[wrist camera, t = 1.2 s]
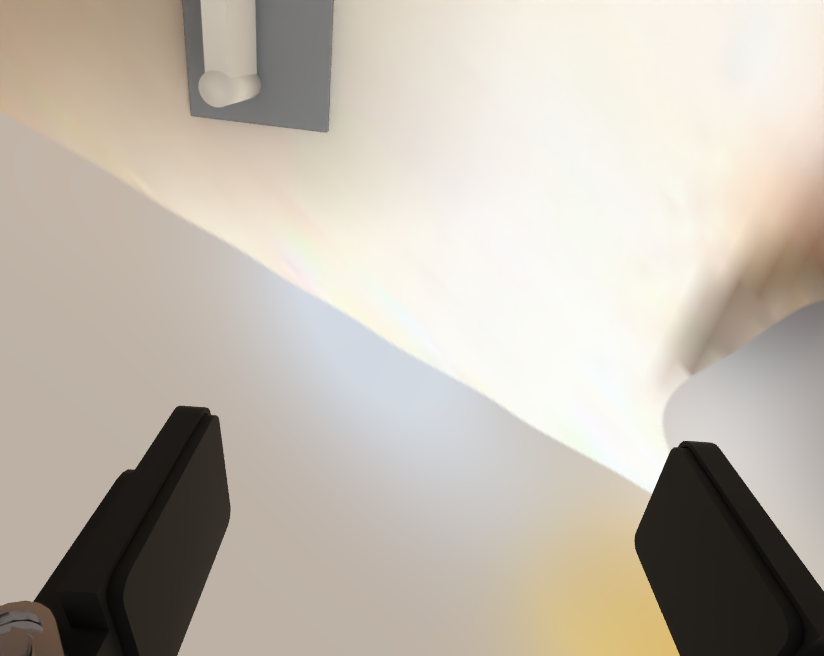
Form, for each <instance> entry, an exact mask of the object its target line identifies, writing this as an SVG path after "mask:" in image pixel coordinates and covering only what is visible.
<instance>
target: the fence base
mask: <svg viewBox="0 0 824 656" xmlns="http://www.w3.org/2000/svg"><path fill="white" fill-rule="evenodd" d="M182 4H183V17H184V30H185V43H186V57H187V70H188V83H189V96H190V110H191V116H195V117H204V118H212V119H220V120H228V121H236V122H244V123H253V124H261V125H269V126H277V127H285V128H293V129H302V130H310V131H318V132H326V133H327V132H328V131H329V106H330V80H331V55H332V30H333V4H334V0H255V6H256V56H257V75H258V76H259V78H260V81H261V90H260V92H259V94H258V95H257V96H256V97H254V98H251V99H248V100H245V101H241V102H238V103H234V104H231V105H227V106H224V107H219V108H218V107H213V106H211V105H209V104H207V103H206V102H205V101H204V100H203V98H202V97H201V95H200V92H199V88H198V84H199V80H200V78H201V76H202V75H203V74H204V73H205V66H204V50H203V33H202V17H201V1H200V0H182Z"/></svg>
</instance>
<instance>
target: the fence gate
mask: <svg viewBox="0 0 824 656" xmlns="http://www.w3.org/2000/svg"><path fill="white" fill-rule="evenodd" d="M200 1H201V17H202V33H203V50H204V66H205V73H204V74H203V75H202V76H201V78H200V80H199V84H198V88H199V92H200V95H201V97H202V98H203V100H204V101H205V102H206V103H207V104H209V105H211V106H213V107H218V108H219V107H224V106H227V105H231V104H234V103H238V102H241V101H245V100H248V99H251V98H254V97H256V96H257V95H258V94H259V92H260V90H261V81H260V78H259V76H258V75H257V56H256V6H255V0H200Z"/></svg>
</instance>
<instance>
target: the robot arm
mask: <svg viewBox="0 0 824 656" xmlns="http://www.w3.org/2000/svg"><path fill="white" fill-rule="evenodd" d="M229 519H230V500H229V493H228V485H227V477H226V470H225V461H224V454H223V446H222V438H221V431H220V423H219V418H218V416H216V415H211V413H210V410H209V409H208V408H205V407H191V406H178V407H176V408H175V410H174V411H173V413H172V414H171V416H170V417H169V419H168V420H167V422H166V423H165V425H164V426H163V428H162V429H161V431H160V432H159V434H158V435H157V437H156V439H155V440H154V442H153V443H152V445H151V446H150V448H149V449H148V451H147V452H146V454H145V455H144V457H143V458H142V460H141V461H140V463H139V464H138V466H137V467H136V469H135V470H126V471H125V472H123V473H122V474H121V475H120V476H119V477H118V479H117V480H116V481H115V483H114V484H113V486H112V487H111V489H110V490H109V492H108V493H107V495H106V496H105V498H104V499H103V500H102V502H101V503H100V505H99V506H98V508H97V509H96V511H95V512H94V514H93V515H92V516H91V518H90V519H89V521H88V522H87V524H86V525H85V527H84V528H83V530H82V531H81V533H80V534H79V536H78V537H77V538H76V540H75V541H74V543H73V544H72V546H71V547H70V549H69V550H68V552H67V553H66V555H65V556H64V558H63V559H62V560H61V562H60V563H59V565H58V566H57V568H56V569H55V571H54V572H53V574H52V575H51V577H50V578H49V580H48V581H47V582H46V584H45V585H44V587H43V588H42V590H41V591H40V593H39V594H38V596H37V597H36V599H35V600H34V602H30V601H20V602H13V603H7V604H5V605H2V606H0V656H177V655H178V652H179V649H180V647H181V644H182V642H183V639H184V637H185V634H186V631H187V629H188V626H189V624H190V621H191V619H192V616H193V613H194V611H195V608H196V606H197V603H198V601H199V598H200V596H201V593H202V591H203V588H204V585H205V583H206V580H207V578H208V575H209V573H210V570H211V568H212V565H213V562H214V560H215V557H216V555H217V552H218V550H219V547H220V545H221V542H222V539H223V537H224V534H225V532H226V529H227V526H228V523H229ZM635 549H636V552H637V555H638V557H639V559H640V562H641V564H642V566H643V569H644V571H645V573H646V576H647V578H648V581H649V583H650V585H651V588H652V590H653V593H654V595H655V597H656V600H657V602H658V605H659V607H660V609H661V612H662V614H663V616H664V619H665V621H666V623H667V626H668V628H669V630H670V633H671V635H672V638H673V640H674V642H675V645H676V647H677V650H678V652H679V654H680V656H824V591H823V590H822V589H821V587H820V586H819V584H818V583H817V582H816V580H815V579H814V578H813V576H812V575H811V573H810V572H809V571H808V570H807V568H806V567H805V565H804V564H803V563H802V561H801V560H800V558H799V557H798V556H797V554H796V553H795V552H794V550H793V549H792V547H791V546H790V545H789V543H788V542H787V540H786V539H785V538H784V536H783V535H782V534H781V532H780V531H779V530H778V528H777V527H776V526H775V524H774V523H773V521H772V520H771V519H770V517H769V516H768V514H767V513H766V512H765V510H764V509H763V508H762V506H761V505H760V503H759V502H758V501H757V499H756V498H755V497H754V495H753V494H752V493H751V491H750V490H749V488H748V487H747V486H746V484H745V483H744V482H743V480H742V479H741V477H740V476H739V475H738V473H737V472H736V470H735V469H734V468H733V467H732V465H731V464H730V462H729V461H728V459H727V458H726V457H725V455H724V454H723V453H722V451H721V450H720V449H719V447H718V446H717V445H715V444H713V443H708V442H694V441H683V442H682V443H680V445H679V446H678V447H676V448H673V449H672V450H671V451H670V453H669V456H668V458H667V460H666V463H665V465H664V468H663V470H662V472H661V475H660V477H659V479H658V482H657V484H656V486H655V489H654V491H653V494H652V496H651V499H650V501H649V503H648V505H647V508H646V510H645V512H644V515H643V517H642V520H641V522H640V524H639V527H638V529H637V532H636V534H635Z"/></svg>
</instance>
